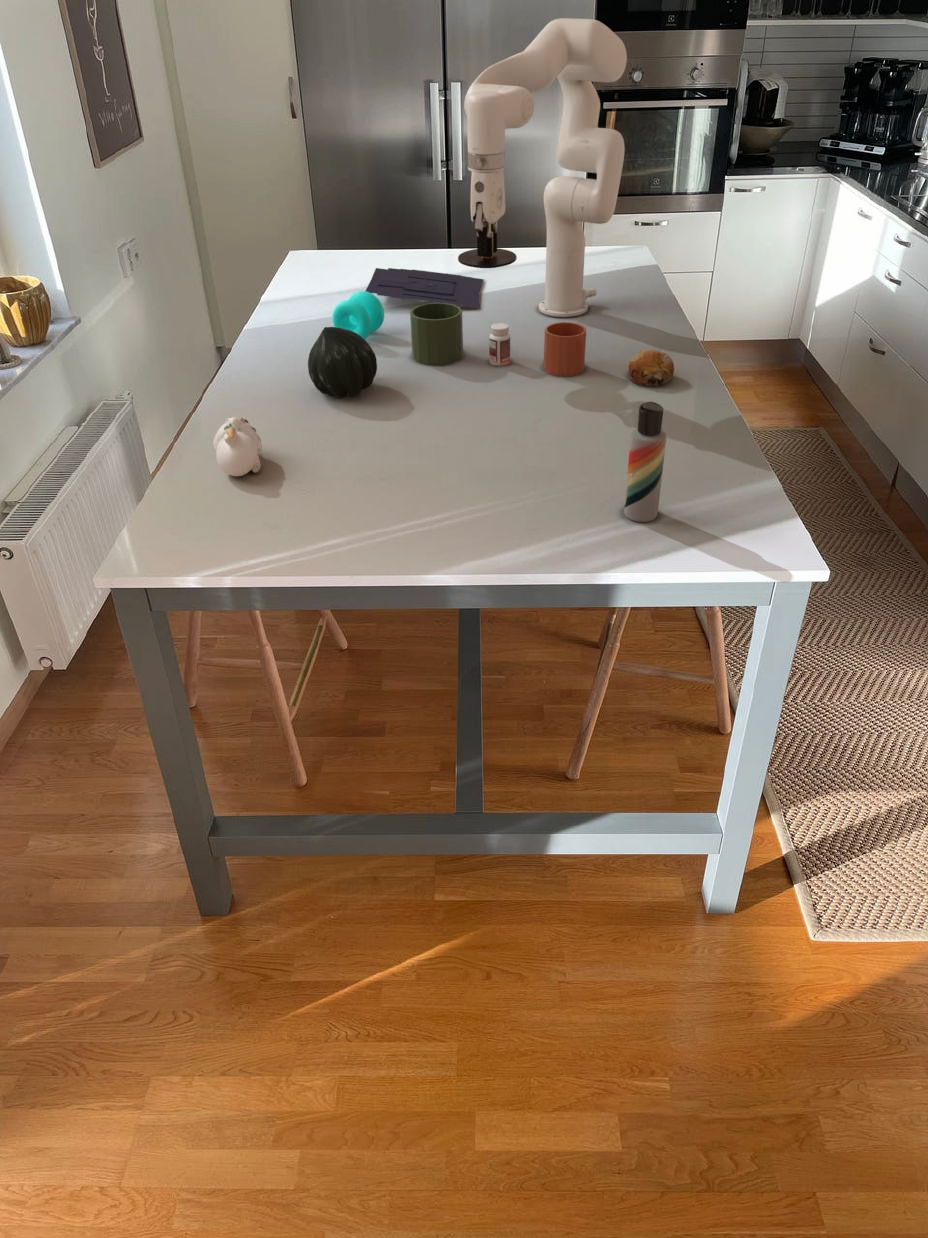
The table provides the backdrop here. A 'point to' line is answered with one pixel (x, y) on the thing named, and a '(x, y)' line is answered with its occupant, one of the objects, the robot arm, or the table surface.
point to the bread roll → (651, 368)
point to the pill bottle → (499, 344)
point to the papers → (426, 286)
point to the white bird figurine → (237, 447)
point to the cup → (564, 349)
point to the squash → (341, 363)
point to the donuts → (359, 314)
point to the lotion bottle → (645, 464)
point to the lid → (487, 258)
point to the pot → (436, 333)
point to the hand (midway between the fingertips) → (487, 253)
